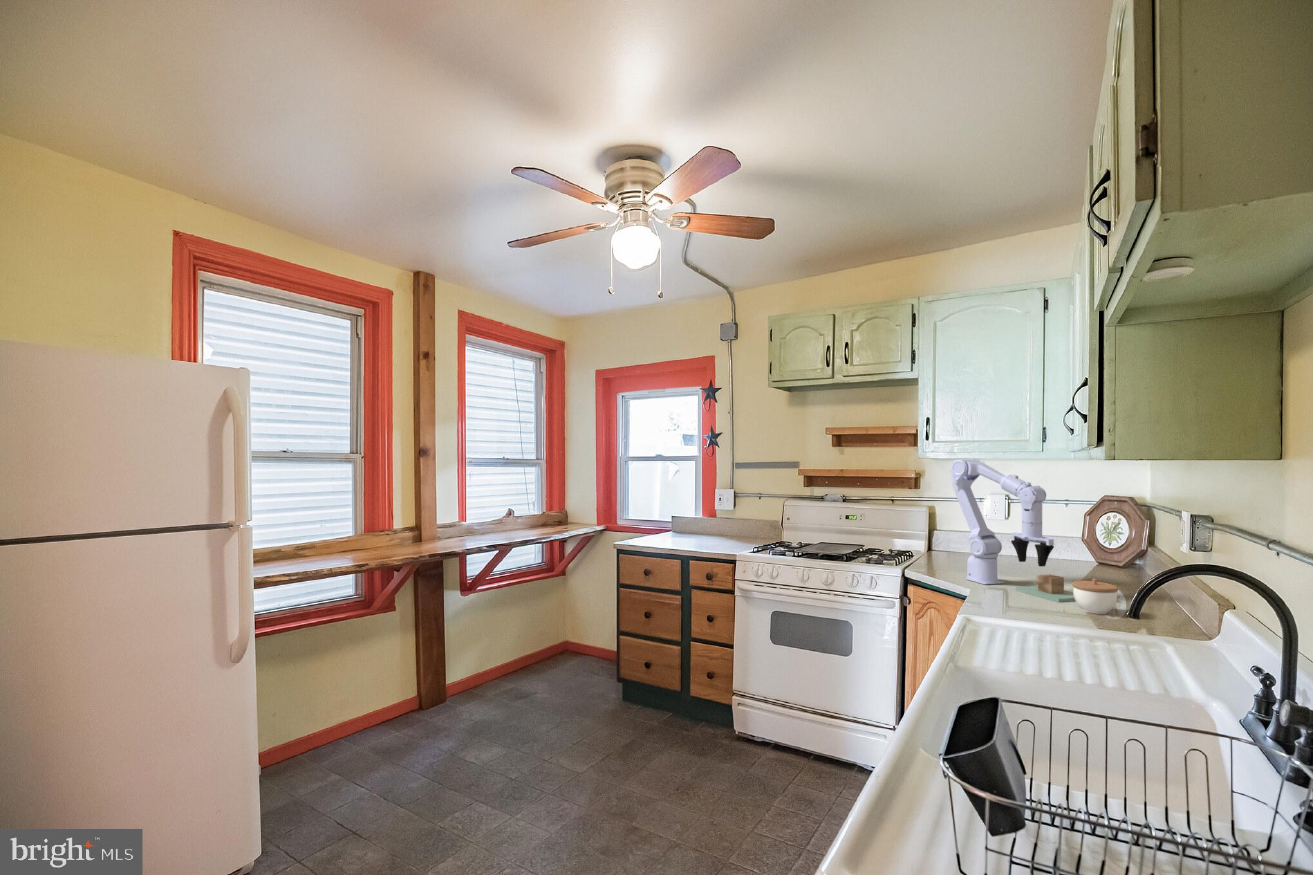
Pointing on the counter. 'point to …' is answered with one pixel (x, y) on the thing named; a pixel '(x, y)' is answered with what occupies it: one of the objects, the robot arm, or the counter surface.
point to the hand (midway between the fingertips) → (1031, 563)
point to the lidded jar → (1095, 596)
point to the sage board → (1047, 594)
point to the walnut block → (1051, 584)
